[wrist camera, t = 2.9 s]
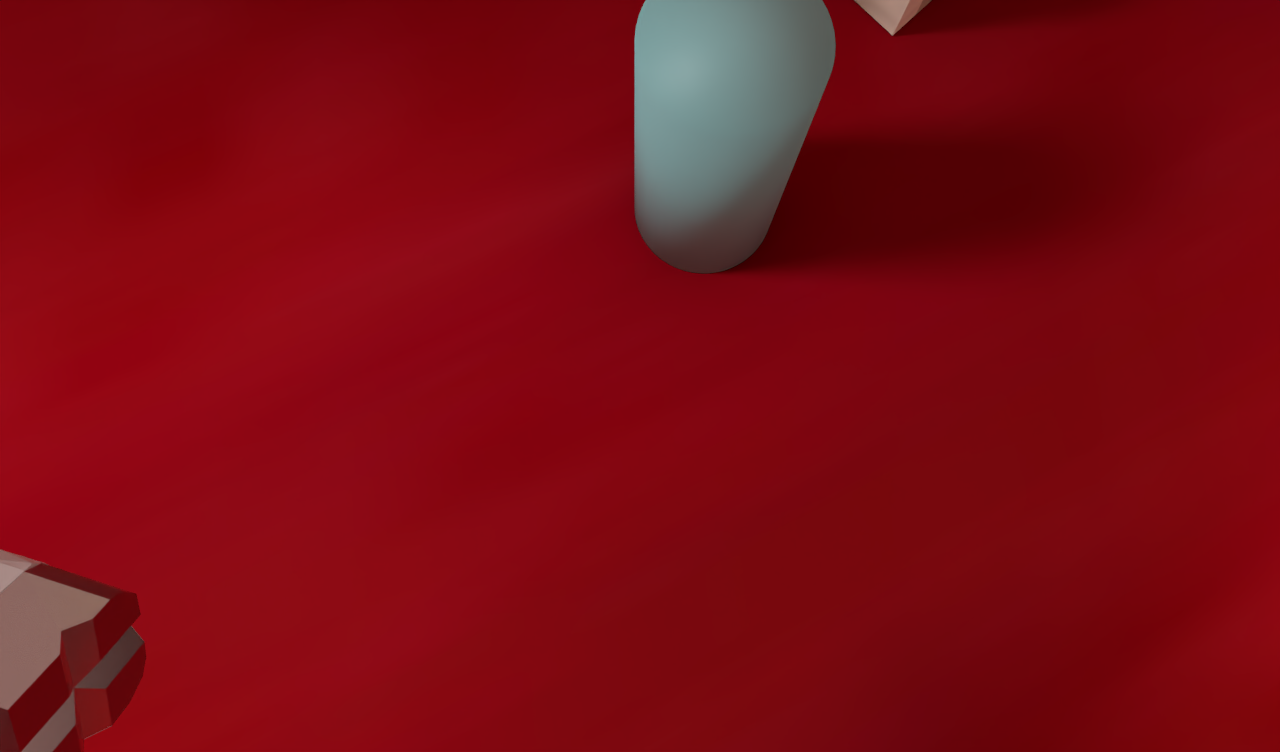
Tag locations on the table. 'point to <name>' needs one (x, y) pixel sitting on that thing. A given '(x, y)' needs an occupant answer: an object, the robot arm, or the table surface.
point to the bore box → (892, 11)
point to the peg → (722, 120)
